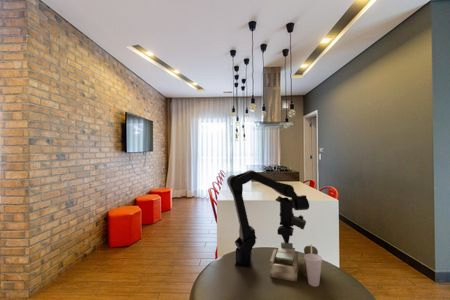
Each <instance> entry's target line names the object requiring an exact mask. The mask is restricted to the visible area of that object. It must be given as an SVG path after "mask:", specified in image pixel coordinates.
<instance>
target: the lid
mask: <svg viewBox="0 0 450 300" xmlns="http://www.w3.org/2000/svg"><path fill="white" fill-rule="evenodd" d="M293 244H294V243H292V242H289V243H286V242H284V241H281V242H280V245H279V246H278V249H277V254H276V258H277V259H284V260H290V261H293V259H294V254H295V252H296V247H294V246H293Z"/></svg>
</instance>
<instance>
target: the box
mask: <svg viewBox="0 0 450 300" xmlns="http://www.w3.org/2000/svg"><path fill="white" fill-rule="evenodd" d="M277 251H278V249H277V248H274V249H273V251H272V255H270V256H271V257H270V259H269V277H270V278H275V279H280V280H286V281H292V282H295V283H296V282H298V273H299V252H298V251H295V253H294V259H293V261H290V260H284V259H277V258H276V254H277Z"/></svg>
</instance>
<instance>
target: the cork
mask: <svg viewBox="0 0 450 300" xmlns="http://www.w3.org/2000/svg"><path fill="white" fill-rule="evenodd" d="M303 252H304V255H305V254H311V246H310V245H306V246H305V247H304V248H303ZM318 253H319V251H318V248H317V247H316V246H313V245H312V254H317V255H318ZM303 276H304V277H305V278H307V279H308V276H307V269H306V263H305V262H304V265H303Z"/></svg>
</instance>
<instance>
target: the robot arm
mask: <svg viewBox="0 0 450 300" xmlns="http://www.w3.org/2000/svg"><path fill="white" fill-rule="evenodd" d="M251 181H255V182H257V183H259V184H261V185H263V186H266V187H268V188H270V189H272V190H274V191H275V192H276V193H277V194H279V196H277V198H275V201H276V202H278V203H279V216H280V217H279V219H280V222H279V225H280V226H278V228H277V235H279V236H281V237H282V239H283V242H286V243H290V238H291V237H292V236H293V235H294V229H295V228H294V226H295V227H298V228H300V230H305V226H306V224H307V220H305V219H304V216H303V215H300V214H299V215H298V216H295V213H294V212H293V211H308V210H309V208H310V201H309V200H308V198H307V195H304V194H301V195H298V194H297V193H296V191H295V188H294V186H293V185H292V184H288V183H283V182H279V181H276V180H274V179H272V178H270V177H267V176H265V175H264V174H263V175H262V174H261V173H258V172H257V171H255V170H251V169H250V170H247V171H244V172H242V173H238V174H236V175H235V174H233V175H232V174H231V175H230V176H228V178H227V179H226V184H227V186H228V189H229V190H230V193H231V195H232V198H233V201H234V206H235V211H236V215H237V218H238V225H239V229H238V230H239V231H238V233H239V235H238V237H237V239H236V240H235V241H234V244H235V246H236V249H235V262H234V266H238V267H242V268H249V267H250V265H251V264H252V262H253V252H252V251H253V248H254V246H255V245H256V243H257V240H256V239H257V236H256V230H255V228H254V227H253V226H252V225H250V223H249V219H248V215H247V210H246V205H245V201H244V197H243V191H244V187H243V186H244V185H245V184H247V183H249V182H251ZM282 196H284V197H282Z"/></svg>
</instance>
